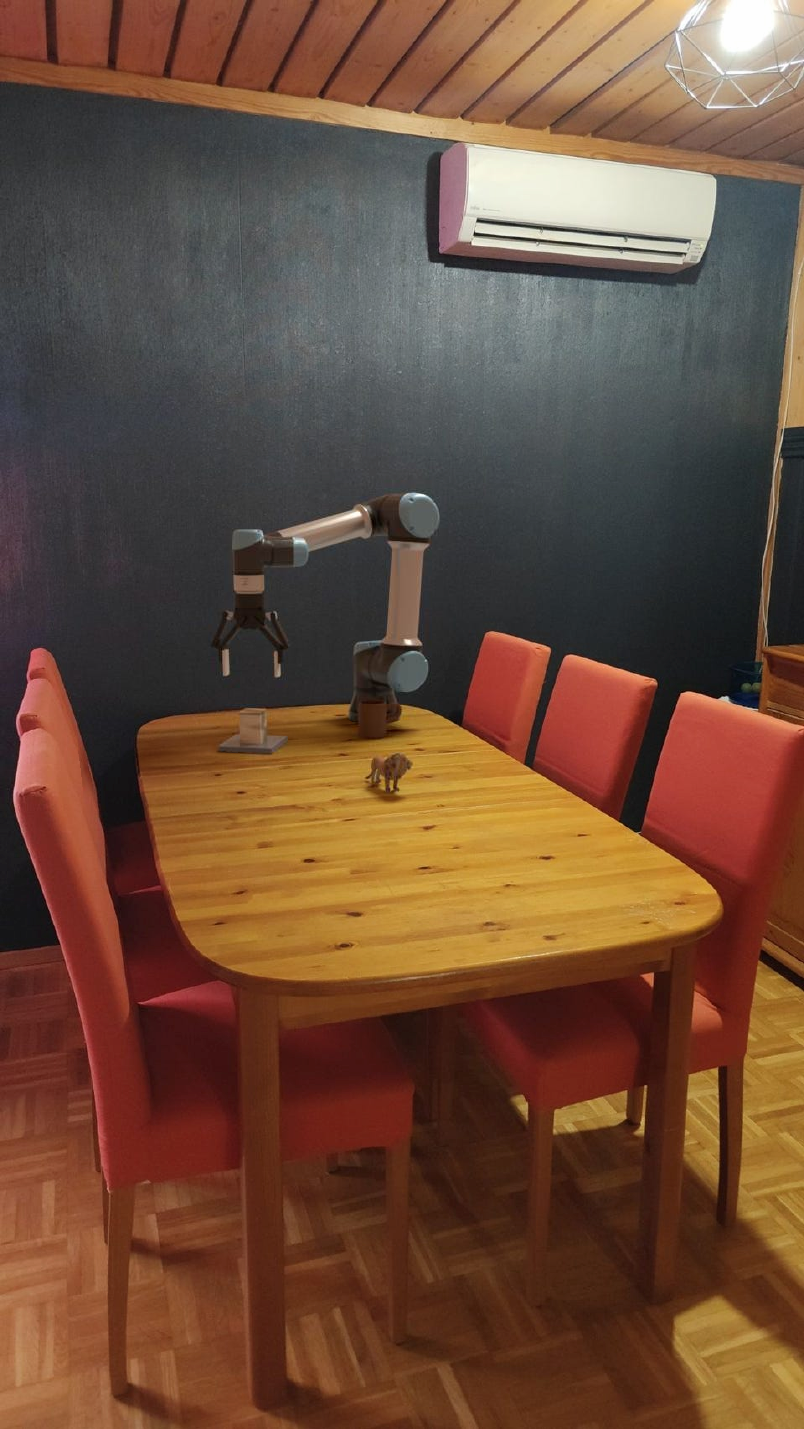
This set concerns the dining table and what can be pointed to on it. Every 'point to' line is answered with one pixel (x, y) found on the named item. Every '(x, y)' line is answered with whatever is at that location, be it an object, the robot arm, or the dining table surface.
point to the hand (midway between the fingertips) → (251, 675)
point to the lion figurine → (389, 769)
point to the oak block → (253, 725)
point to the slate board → (253, 745)
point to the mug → (375, 718)
